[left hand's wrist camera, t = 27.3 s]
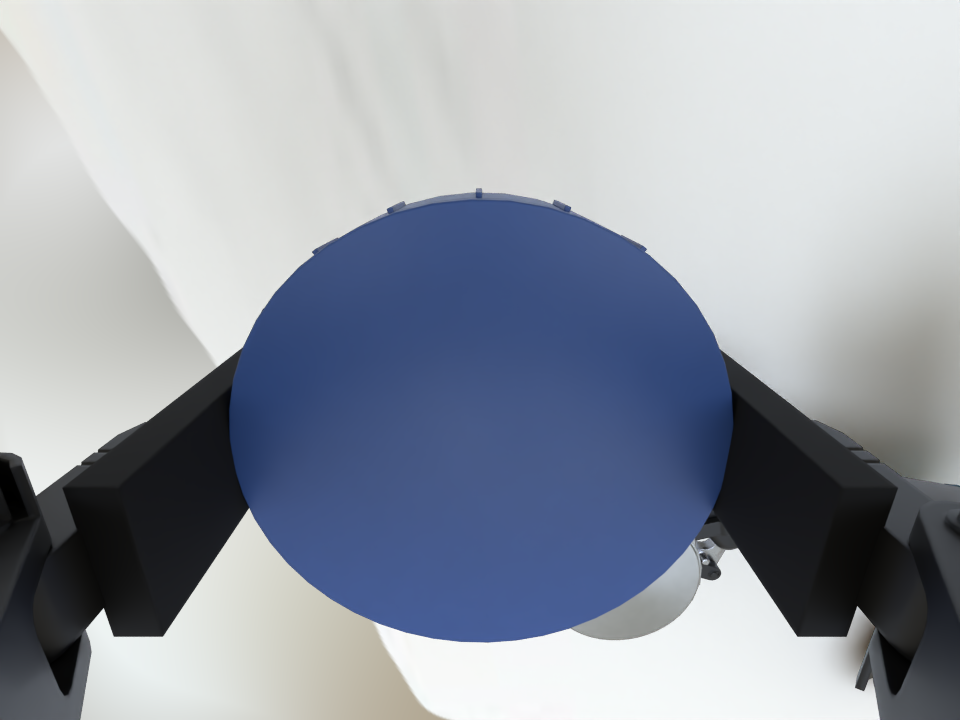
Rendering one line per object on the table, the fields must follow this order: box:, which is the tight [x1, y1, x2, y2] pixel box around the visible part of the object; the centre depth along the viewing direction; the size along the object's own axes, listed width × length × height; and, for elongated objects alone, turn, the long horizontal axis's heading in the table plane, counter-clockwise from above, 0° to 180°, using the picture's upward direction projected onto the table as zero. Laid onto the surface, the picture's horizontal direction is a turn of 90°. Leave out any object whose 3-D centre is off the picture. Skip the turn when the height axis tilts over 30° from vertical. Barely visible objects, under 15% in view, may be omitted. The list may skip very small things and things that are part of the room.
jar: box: [571, 539, 702, 640], centre depth 35 cm, size 9×9×18 cm
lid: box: [229, 188, 734, 642], centre depth 11 cm, size 10×10×2 cm
